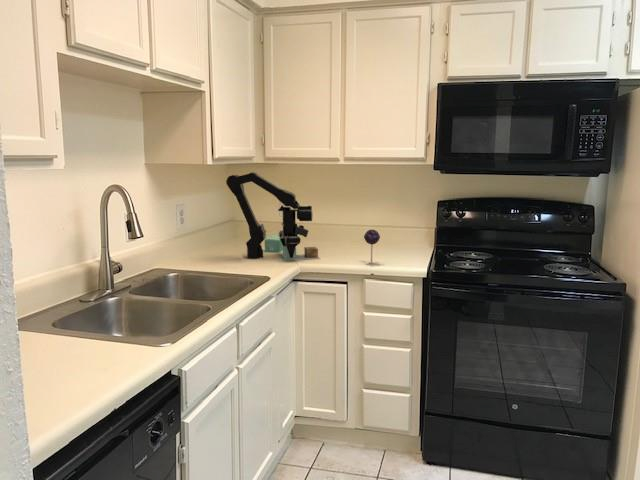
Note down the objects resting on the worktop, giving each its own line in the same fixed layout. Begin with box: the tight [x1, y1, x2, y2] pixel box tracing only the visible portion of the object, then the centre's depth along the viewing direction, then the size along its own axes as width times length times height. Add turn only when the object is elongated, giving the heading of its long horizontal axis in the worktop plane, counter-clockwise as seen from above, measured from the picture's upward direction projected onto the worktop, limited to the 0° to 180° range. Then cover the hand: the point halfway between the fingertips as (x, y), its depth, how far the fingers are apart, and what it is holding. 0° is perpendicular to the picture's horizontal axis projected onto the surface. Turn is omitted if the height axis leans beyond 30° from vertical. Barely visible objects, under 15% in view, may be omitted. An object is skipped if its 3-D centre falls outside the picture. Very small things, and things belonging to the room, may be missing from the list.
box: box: [264, 234, 283, 254], centre depth 257 cm, size 7×14×8 cm, turn 166°
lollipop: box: [363, 229, 381, 265], centre depth 231 cm, size 7×7×15 cm
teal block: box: [282, 246, 297, 260], centre depth 238 cm, size 5×5×5 cm
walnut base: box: [304, 246, 319, 258], centre depth 241 cm, size 5×5×4 cm
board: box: [280, 253, 321, 262], centre depth 240 cm, size 16×12×1 cm
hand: (289, 255), depth 239 cm, fingers open, 9 cm apart
